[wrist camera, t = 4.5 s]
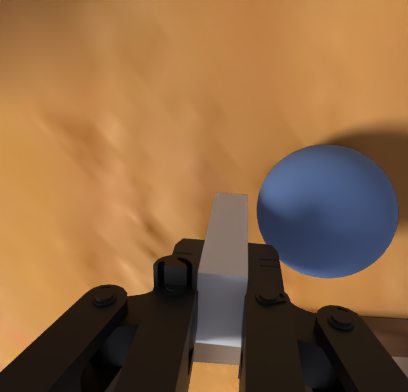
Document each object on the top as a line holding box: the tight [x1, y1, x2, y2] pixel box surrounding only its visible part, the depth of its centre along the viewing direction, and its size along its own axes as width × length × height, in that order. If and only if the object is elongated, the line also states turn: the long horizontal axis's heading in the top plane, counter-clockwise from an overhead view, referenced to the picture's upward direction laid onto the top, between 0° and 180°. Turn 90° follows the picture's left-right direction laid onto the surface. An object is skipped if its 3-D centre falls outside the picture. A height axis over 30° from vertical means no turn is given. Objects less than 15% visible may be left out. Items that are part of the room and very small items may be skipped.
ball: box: [257, 144, 398, 278], centre depth 16 cm, size 6×6×6 cm
